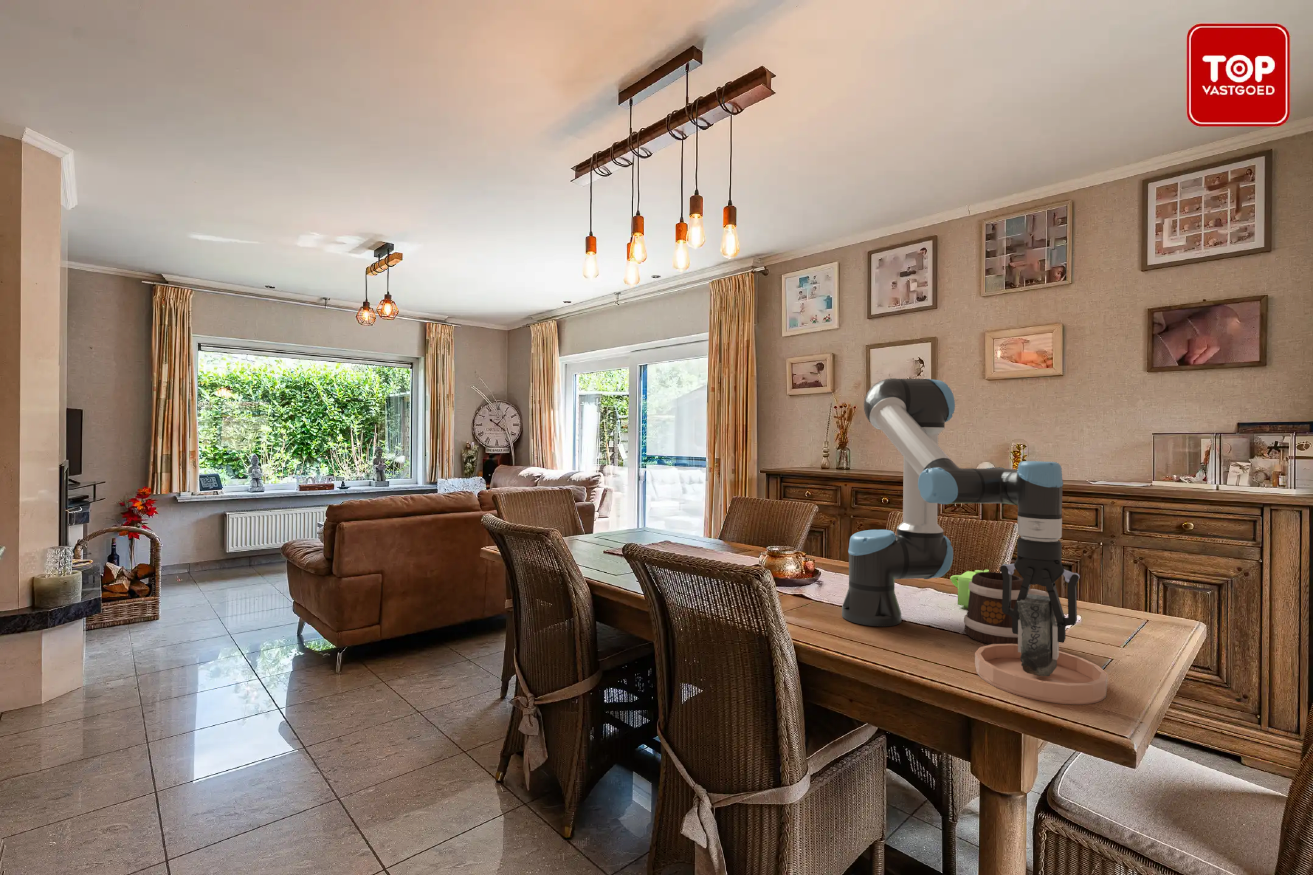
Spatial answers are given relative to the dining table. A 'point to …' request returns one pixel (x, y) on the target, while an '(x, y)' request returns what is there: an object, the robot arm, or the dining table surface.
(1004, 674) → the dish
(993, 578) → the mug
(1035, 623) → the stone block
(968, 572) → the teapot
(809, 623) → the dining table surface
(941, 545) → the robot arm
